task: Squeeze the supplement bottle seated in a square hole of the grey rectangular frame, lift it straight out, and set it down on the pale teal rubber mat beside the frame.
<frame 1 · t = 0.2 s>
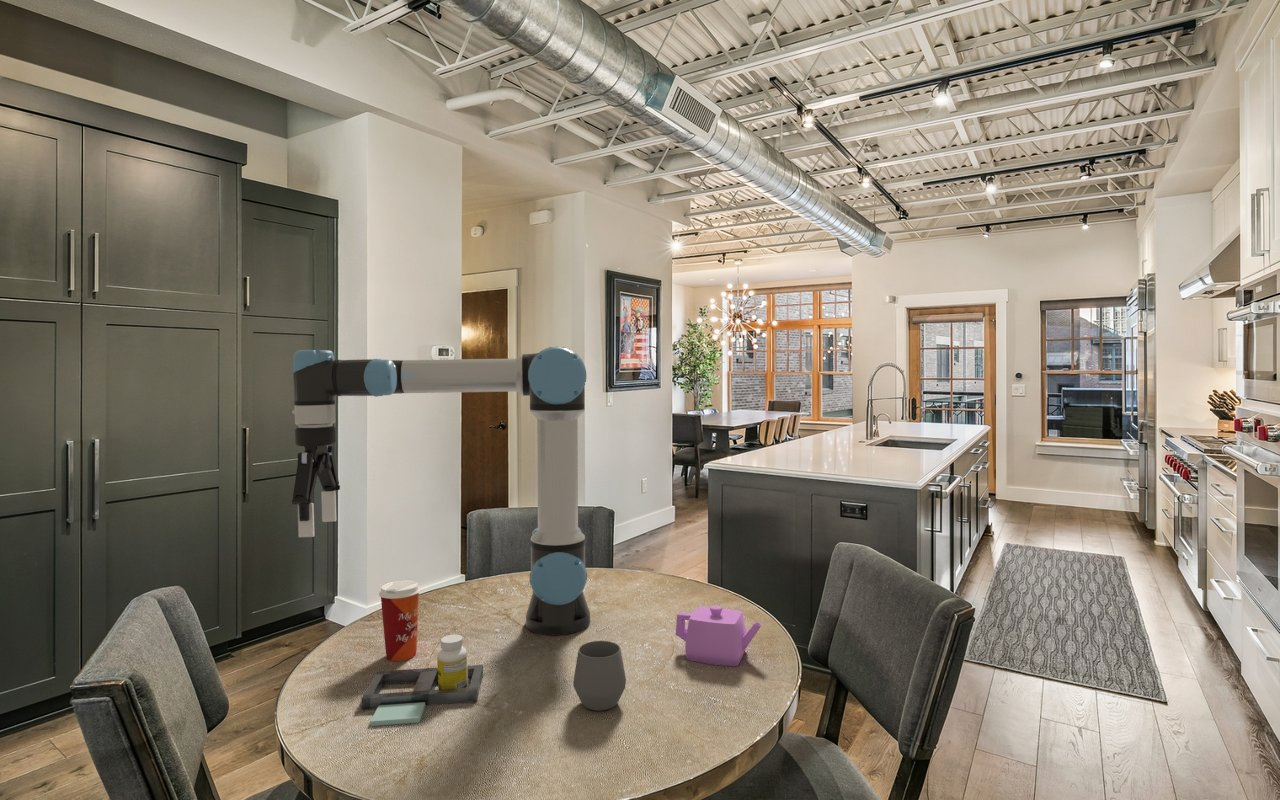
hand: (318, 528, 139), 28 cm above the table, fingers open, 13 cm apart
grey rectangular frame: (425, 691, 127), on the table
cup: (600, 704, 122), on the table
teapot: (718, 656, 142), on the table
coffee cup: (401, 656, 143), on the table
mat: (398, 716, 118), on the table
supplement bottle: (453, 690, 127), resting in grey rectangular frame
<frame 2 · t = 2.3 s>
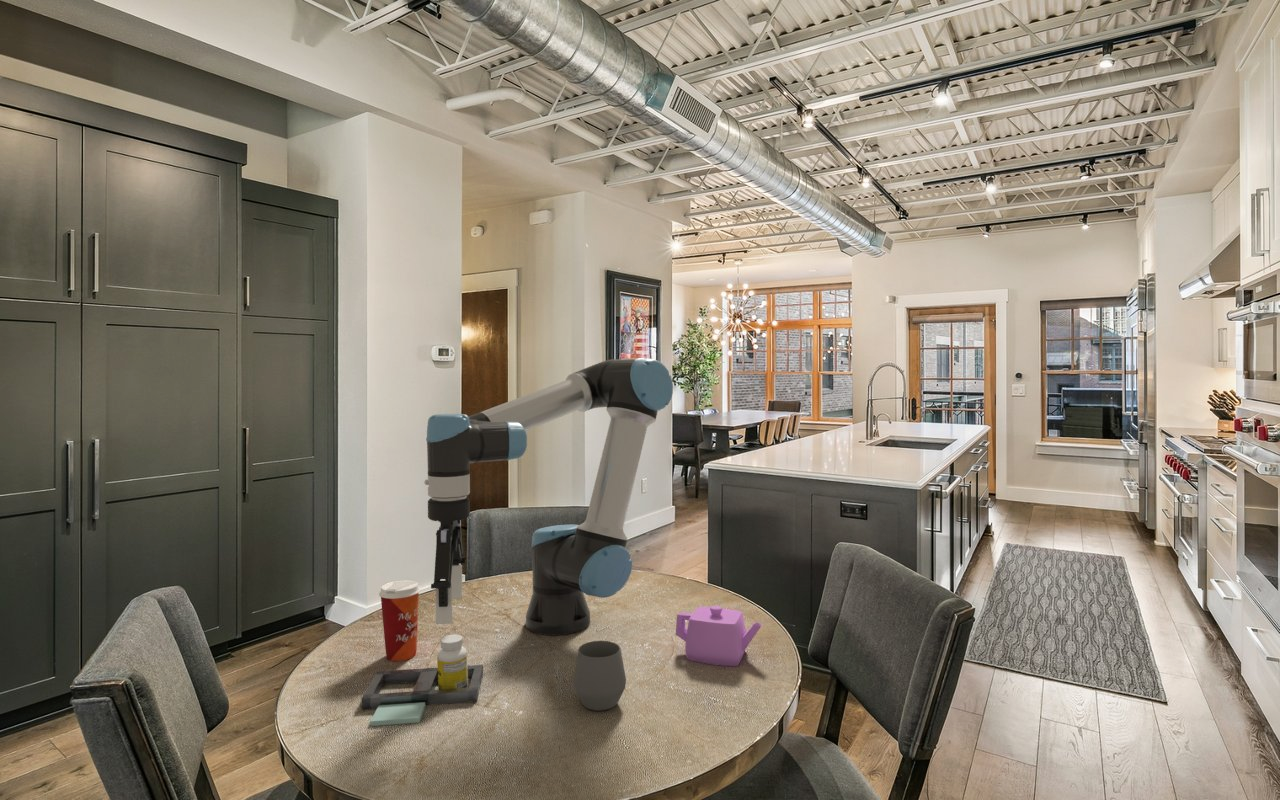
hand: (449, 610, 127), 15 cm above the table, fingers open, 13 cm apart
nothing on the table moved.
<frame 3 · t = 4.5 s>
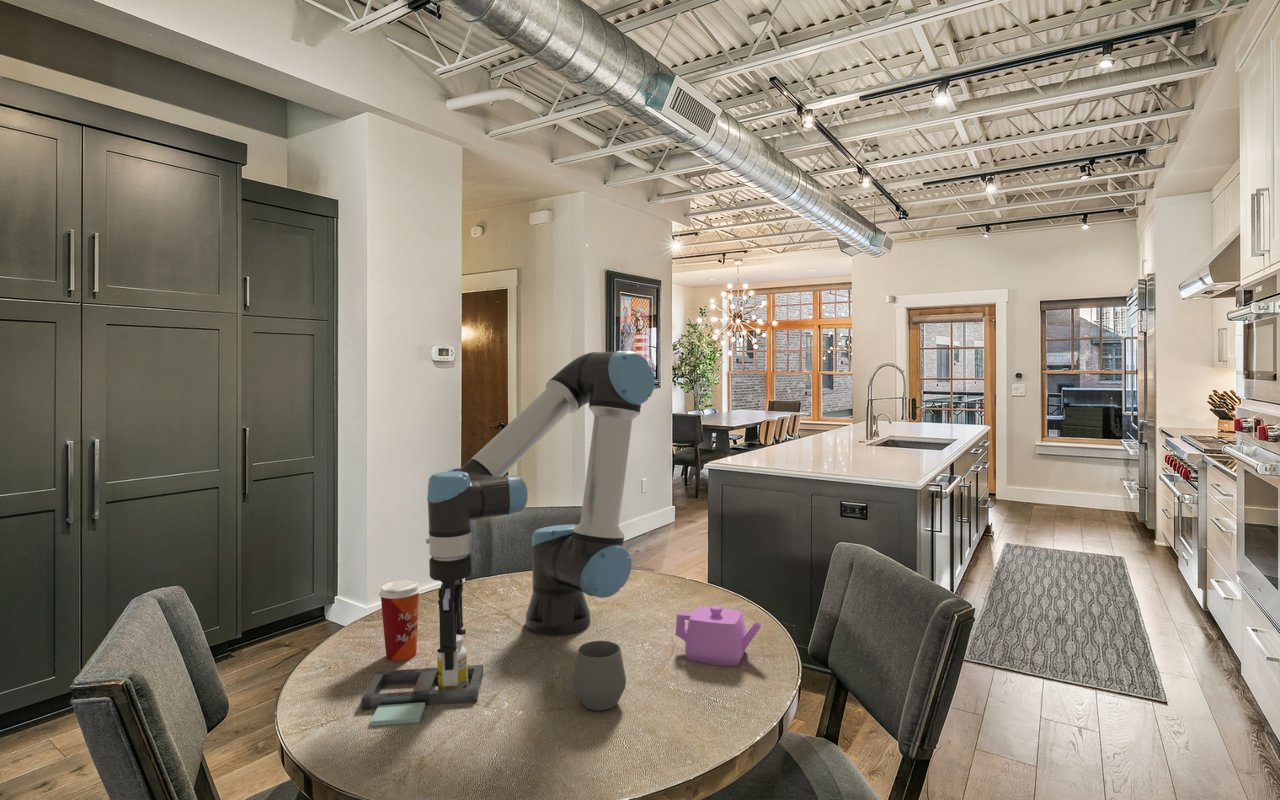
hand: (452, 677, 127), 2 cm above the table, fingers closed on supplement bottle, 5 cm apart
supplement bottle: (453, 690, 127), resting in grey rectangular frame, touching gripper
everything else where it was.
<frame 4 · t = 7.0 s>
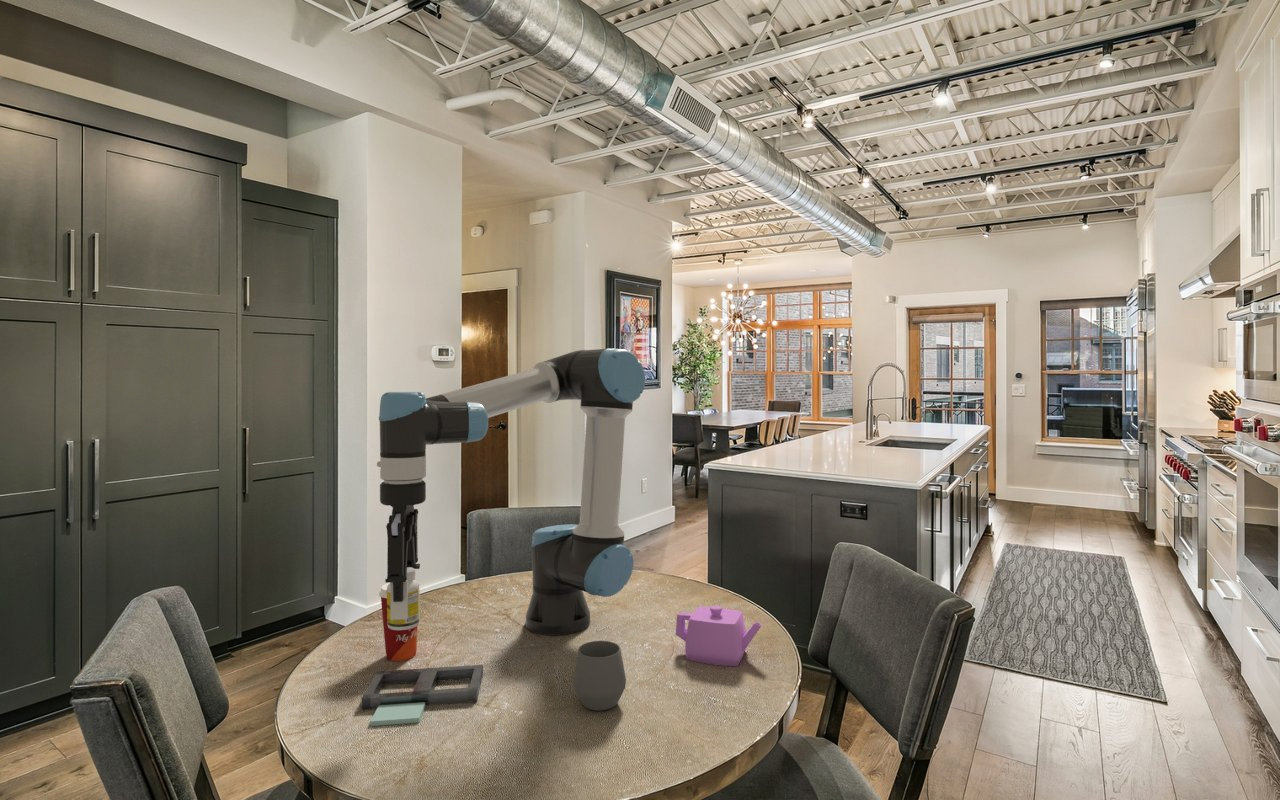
hand: (403, 612, 118), 18 cm above the table, fingers closed on supplement bottle, 5 cm apart
supplement bottle: (403, 626, 118), point 15 cm above the table, touching gripper
everything else where it was.
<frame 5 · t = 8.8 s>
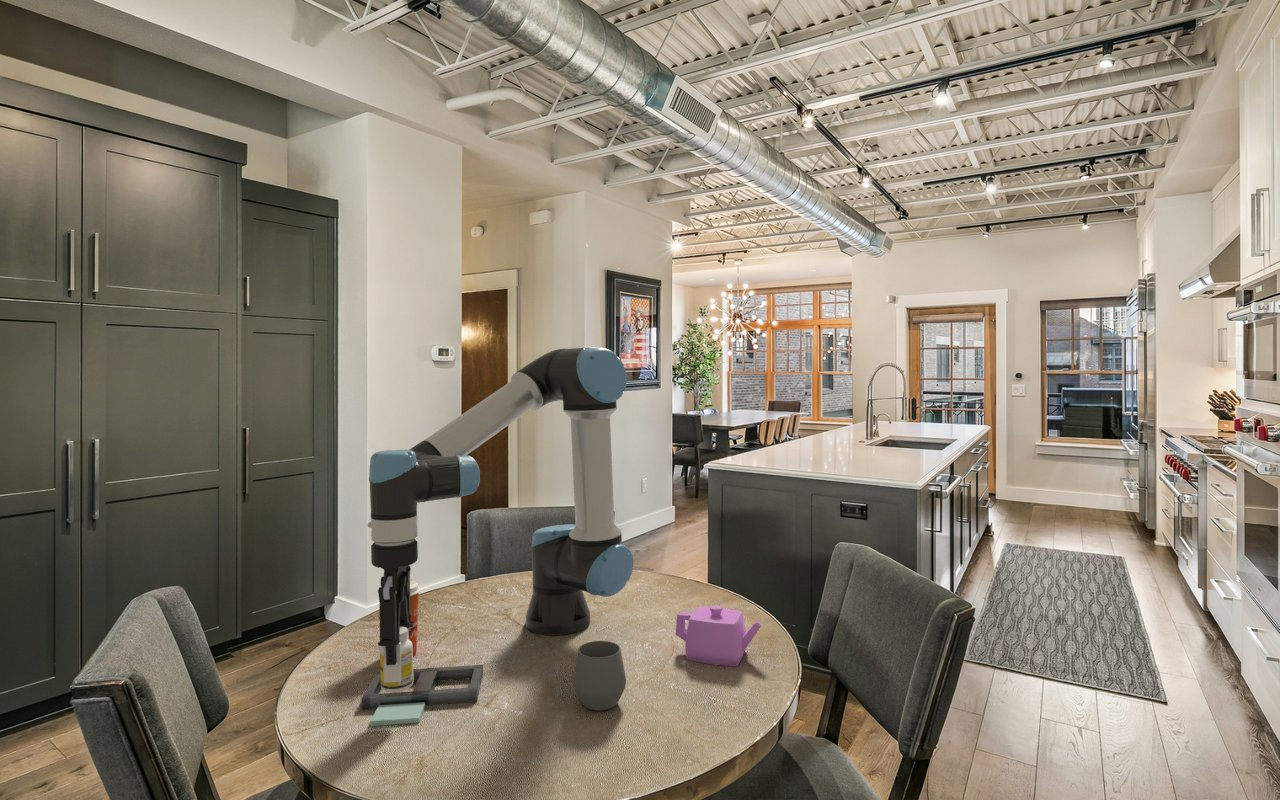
hand: (397, 673, 117), 8 cm above the table, fingers closed on supplement bottle, 5 cm apart
supplement bottle: (397, 687, 117), point 5 cm above the table, touching gripper
everything else where it was.
when the fingers open (5 cm above the table, at t = 10.0 s): supplement bottle drops 2 cm, resting on mat.
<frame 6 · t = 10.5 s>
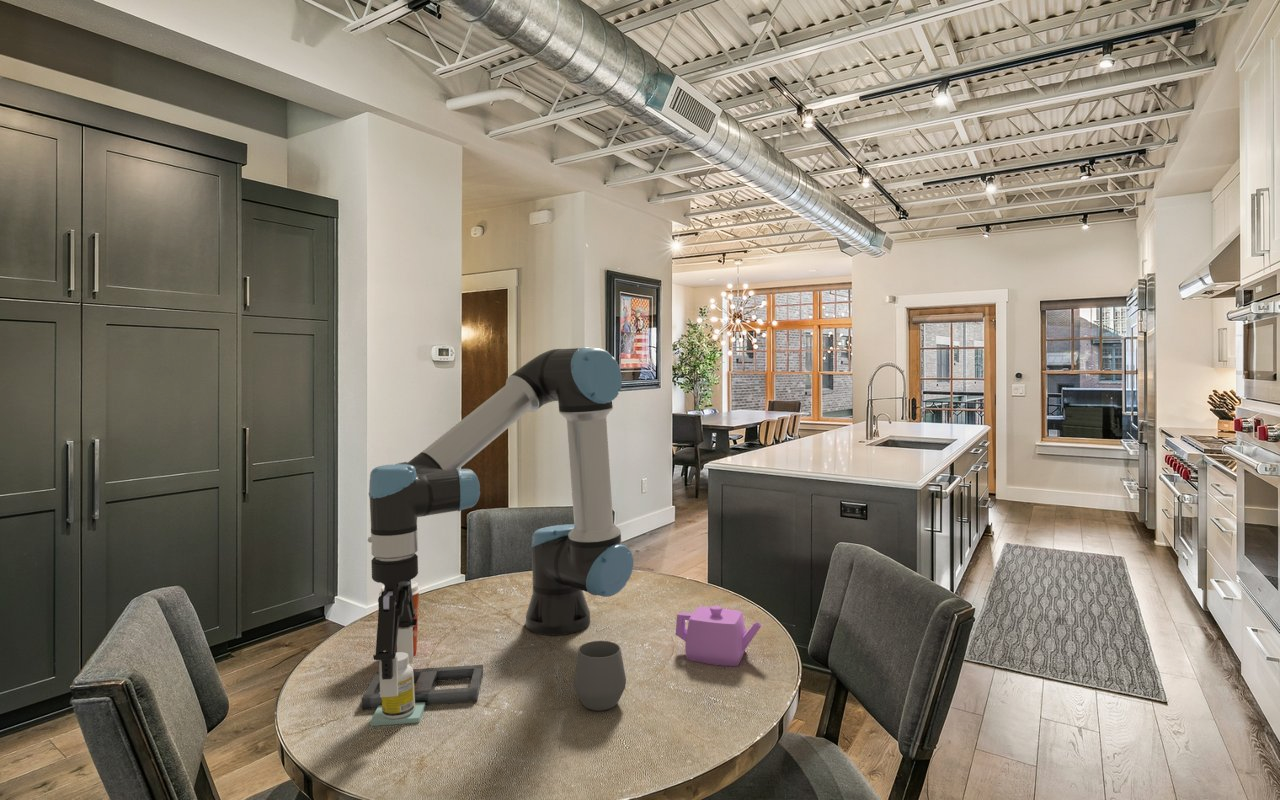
hand: (397, 678, 117), 7 cm above the table, fingers open, 12 cm apart
supplement bottle: (398, 713, 117), point 1 cm above the table, touching mat
everything else where it was.
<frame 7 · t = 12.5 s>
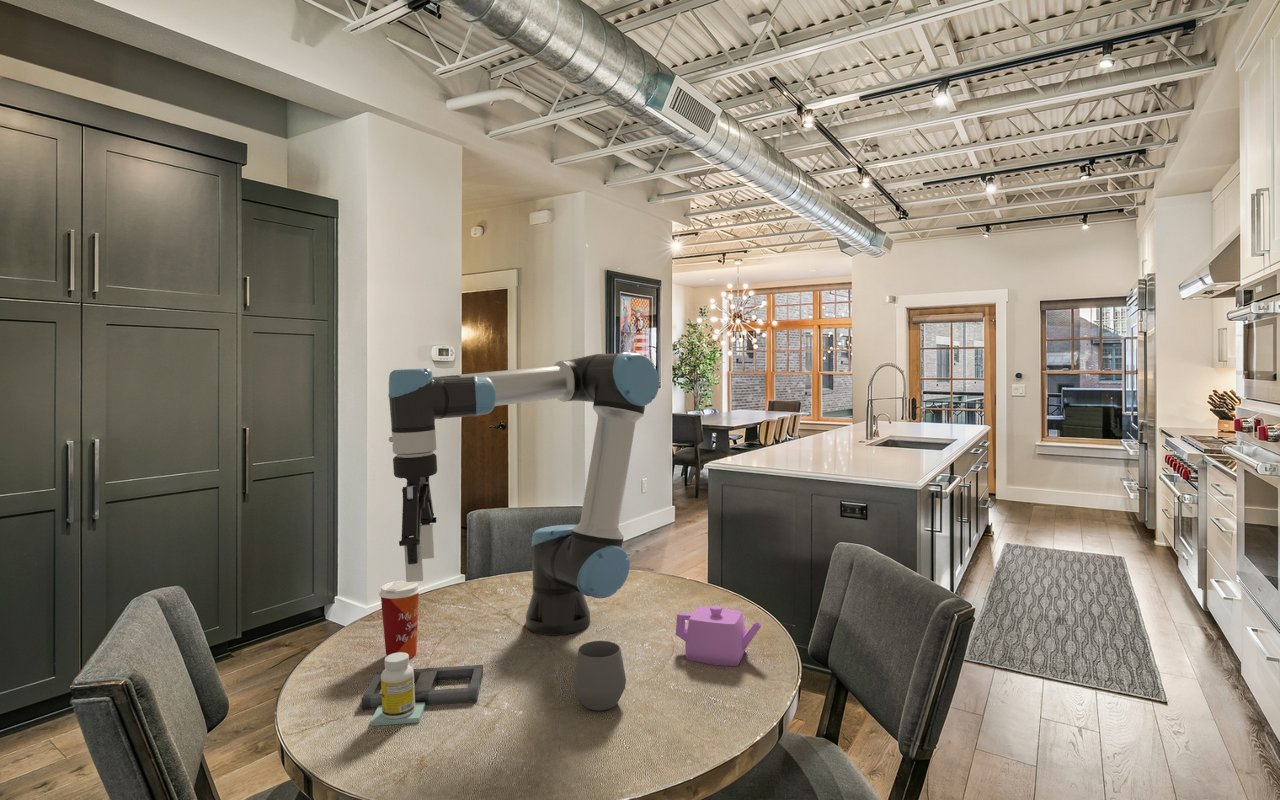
hand: (421, 569, 124), 24 cm above the table, fingers open, 13 cm apart
nothing on the table moved.
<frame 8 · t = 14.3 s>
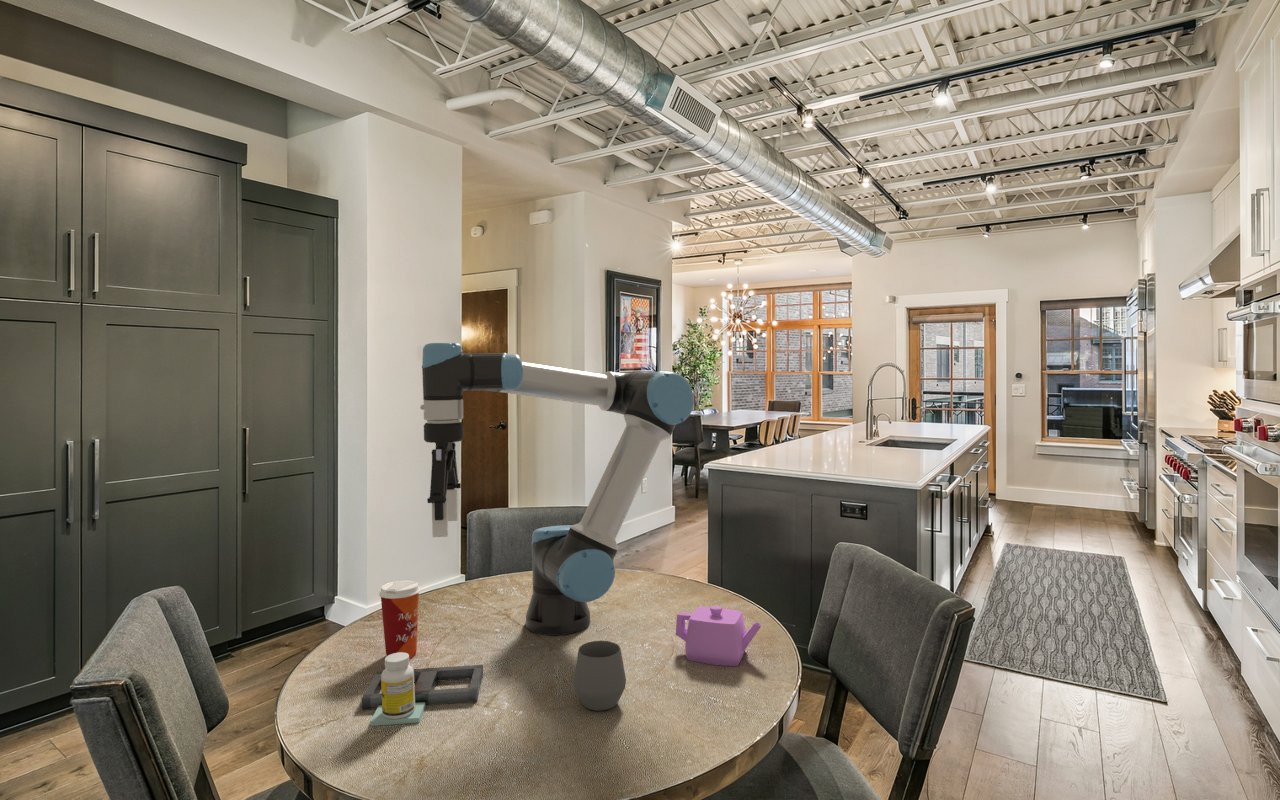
hand: (445, 528, 134), 29 cm above the table, fingers open, 13 cm apart
nothing on the table moved.
at the end: supplement bottle inside the target area on the mat (0.3 cm from its centre), point 0.6 cm above the mat's base; supplement bottle tilted 0°; the gripper is holding nothing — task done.
